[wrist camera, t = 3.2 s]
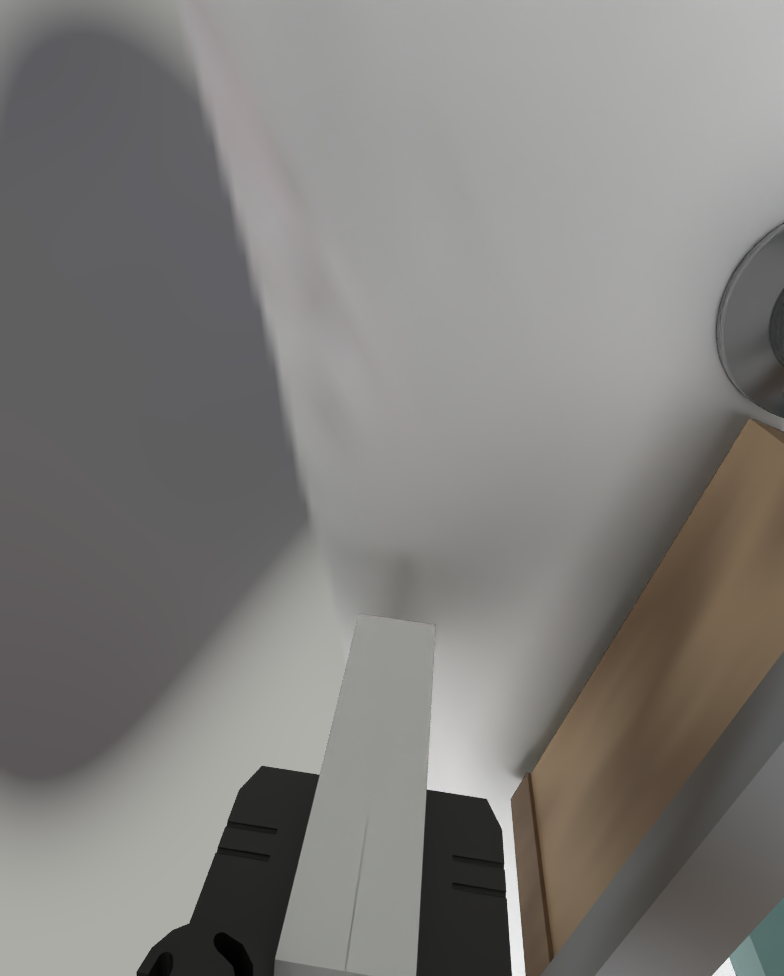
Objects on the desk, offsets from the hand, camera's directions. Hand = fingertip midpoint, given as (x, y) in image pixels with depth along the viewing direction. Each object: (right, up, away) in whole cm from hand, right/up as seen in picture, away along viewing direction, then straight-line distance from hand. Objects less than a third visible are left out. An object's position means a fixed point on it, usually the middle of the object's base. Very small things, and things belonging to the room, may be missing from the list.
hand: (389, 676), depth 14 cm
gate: (+6, 0, +2) cm, 6 cm away
